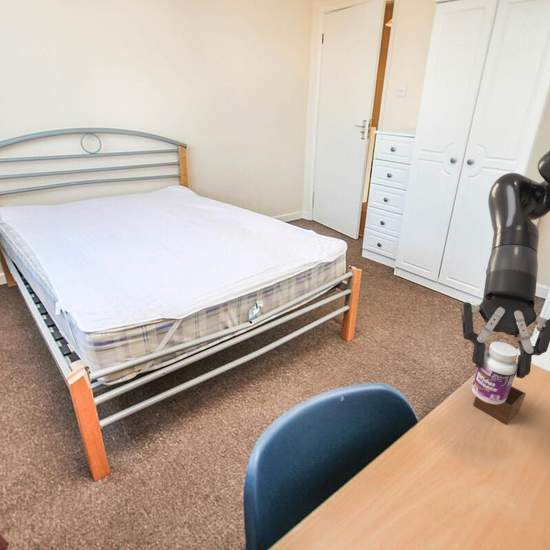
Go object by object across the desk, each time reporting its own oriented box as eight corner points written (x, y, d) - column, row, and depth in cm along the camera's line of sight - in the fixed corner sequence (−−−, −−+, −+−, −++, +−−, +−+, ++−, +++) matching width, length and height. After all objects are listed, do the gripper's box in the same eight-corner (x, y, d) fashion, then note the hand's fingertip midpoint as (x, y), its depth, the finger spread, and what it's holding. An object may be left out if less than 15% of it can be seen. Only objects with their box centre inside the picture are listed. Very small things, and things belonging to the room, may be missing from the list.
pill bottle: (466, 394, 65) (480, 348, 61) (476, 379, 69) (490, 334, 65) (501, 411, 62) (518, 362, 58) (509, 394, 66) (526, 348, 62)
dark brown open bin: (487, 392, 86) (492, 376, 85) (519, 410, 82) (526, 393, 80) (473, 405, 82) (478, 388, 81) (505, 424, 78) (512, 407, 76)
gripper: (469, 260, 66) (455, 356, 60) (568, 276, 61) (561, 381, 55) (462, 277, 72) (448, 364, 67) (550, 292, 67) (542, 387, 62)
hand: (499, 371), depth 61 cm, fingers closed on pill bottle, 5 cm apart
